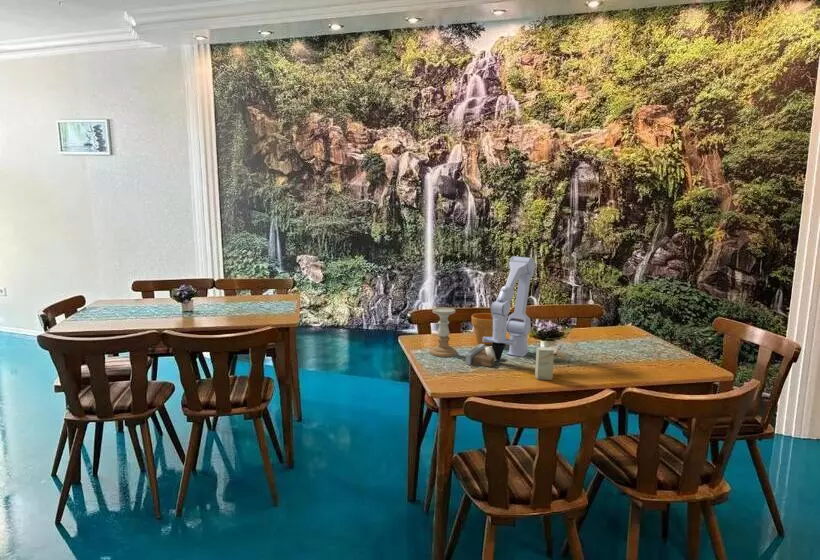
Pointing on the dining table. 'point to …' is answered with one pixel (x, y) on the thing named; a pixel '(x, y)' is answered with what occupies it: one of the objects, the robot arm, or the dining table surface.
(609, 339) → the dining table surface
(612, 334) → the dining table surface
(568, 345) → the dining table surface
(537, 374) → the skincare box
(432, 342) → the dining table surface
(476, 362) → the block
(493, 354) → the dowel
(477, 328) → the flower pot
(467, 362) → the wall
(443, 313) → the candle holder
